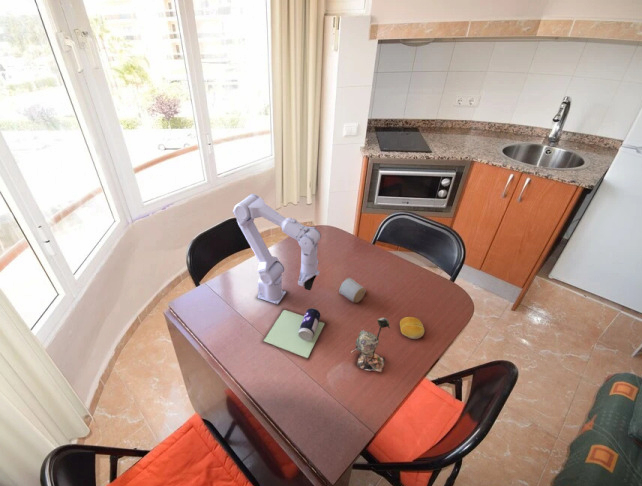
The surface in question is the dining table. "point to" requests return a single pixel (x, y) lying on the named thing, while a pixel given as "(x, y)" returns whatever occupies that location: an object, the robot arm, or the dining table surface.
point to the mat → (291, 334)
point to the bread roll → (411, 327)
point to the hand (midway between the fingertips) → (308, 288)
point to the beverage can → (309, 324)
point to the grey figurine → (370, 348)
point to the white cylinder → (352, 290)
